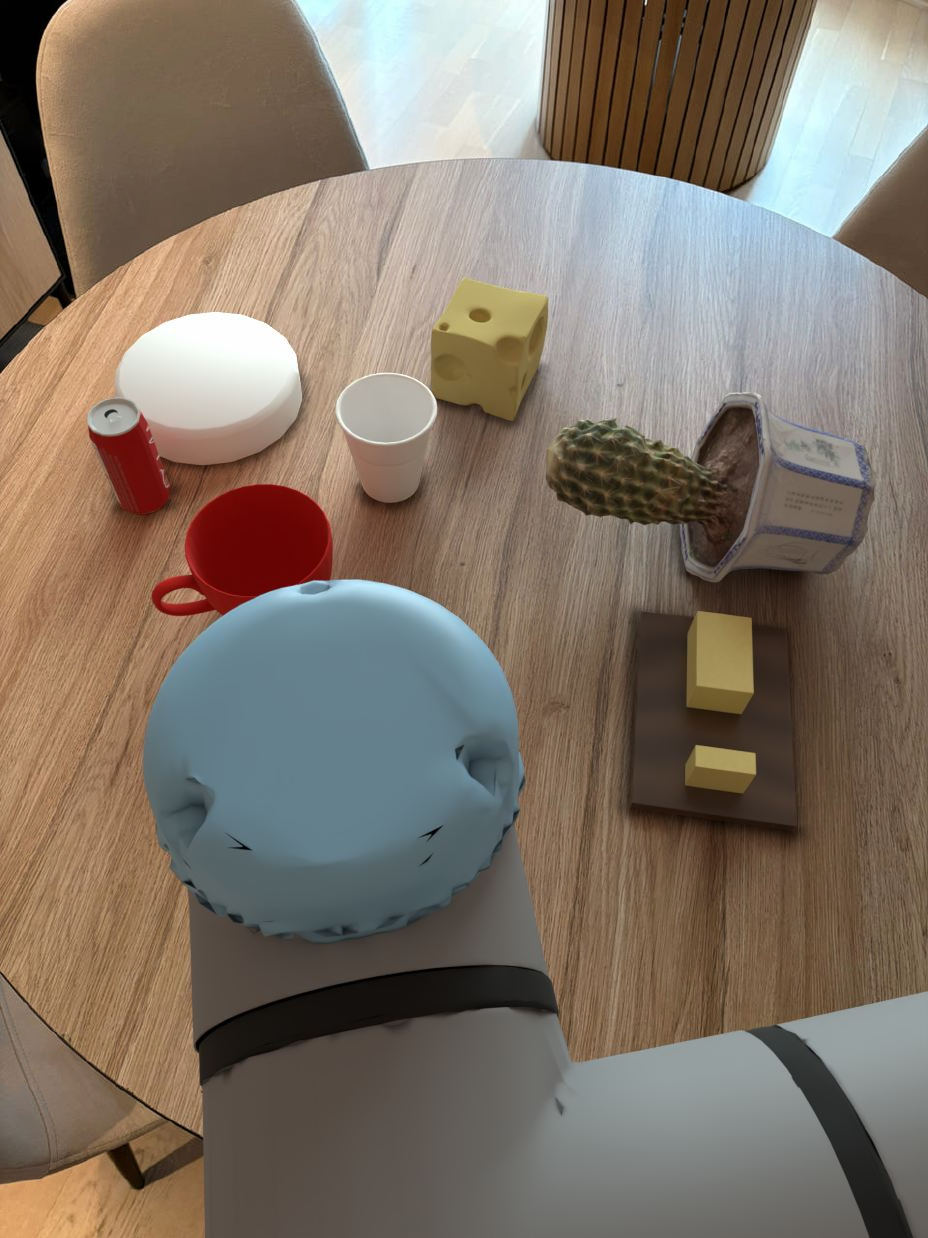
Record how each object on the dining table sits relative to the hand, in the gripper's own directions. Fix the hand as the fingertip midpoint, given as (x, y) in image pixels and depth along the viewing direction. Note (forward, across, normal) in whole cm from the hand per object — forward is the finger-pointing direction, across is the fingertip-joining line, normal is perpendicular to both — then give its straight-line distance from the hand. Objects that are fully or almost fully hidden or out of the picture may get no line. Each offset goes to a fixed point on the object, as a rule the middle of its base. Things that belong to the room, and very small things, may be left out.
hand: (396, 1041), depth 49 cm
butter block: (+24, -39, +22) cm, 51 cm away
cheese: (+25, -75, -4) cm, 79 cm away
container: (+25, -67, -34) cm, 79 cm away
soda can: (+25, -52, -37) cm, 69 cm away
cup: (+25, -58, -12) cm, 64 cm away
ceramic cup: (+25, -40, -22) cm, 52 cm away
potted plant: (+25, -55, +19) cm, 63 cm away
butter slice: (+24, -28, +22) cm, 43 cm away
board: (+25, -35, +22) cm, 48 cm away
